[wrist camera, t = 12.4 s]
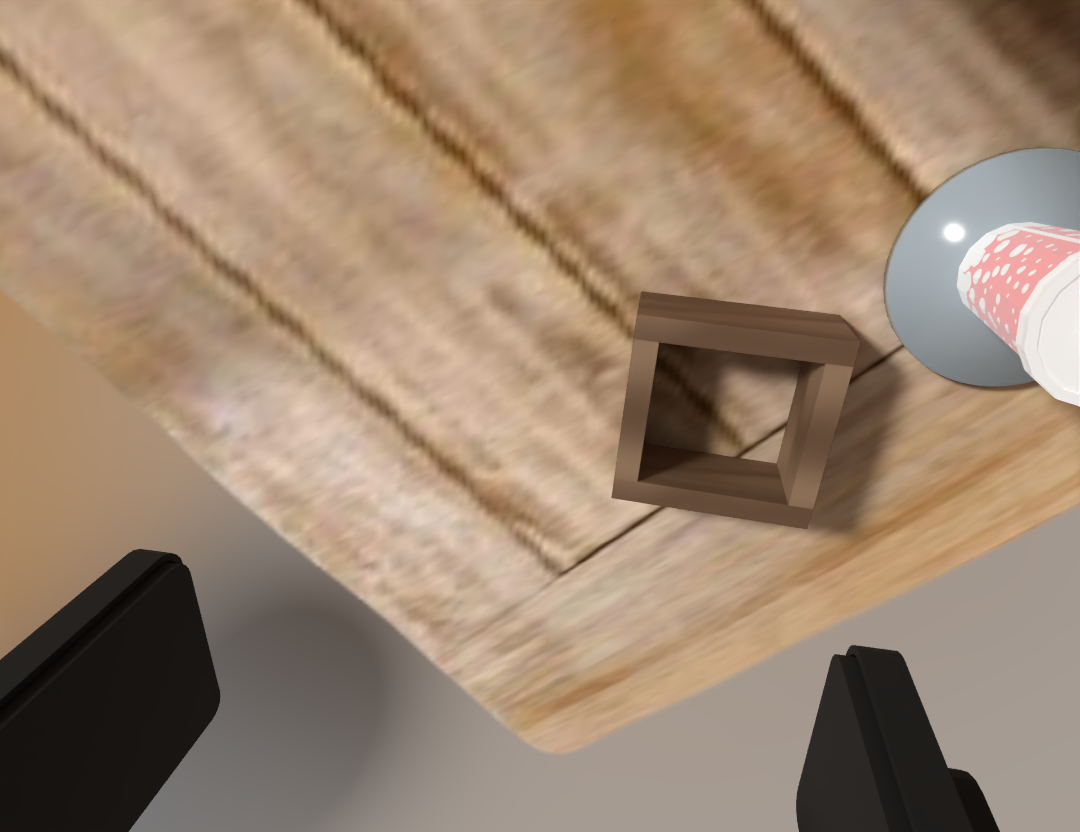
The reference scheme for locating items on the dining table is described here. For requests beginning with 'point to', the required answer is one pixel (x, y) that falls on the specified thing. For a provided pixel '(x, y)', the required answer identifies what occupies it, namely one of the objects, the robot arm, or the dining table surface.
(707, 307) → the square wooden frame
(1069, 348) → the beverage cup
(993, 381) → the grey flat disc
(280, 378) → the dining table surface
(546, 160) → the dining table surface
